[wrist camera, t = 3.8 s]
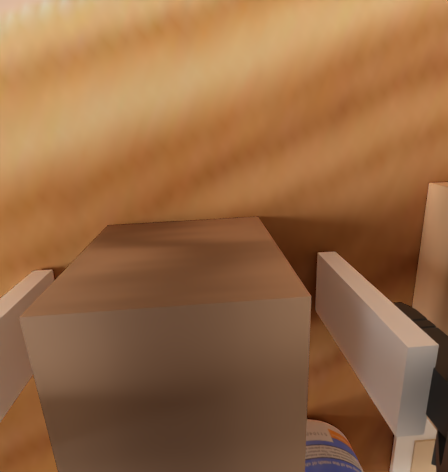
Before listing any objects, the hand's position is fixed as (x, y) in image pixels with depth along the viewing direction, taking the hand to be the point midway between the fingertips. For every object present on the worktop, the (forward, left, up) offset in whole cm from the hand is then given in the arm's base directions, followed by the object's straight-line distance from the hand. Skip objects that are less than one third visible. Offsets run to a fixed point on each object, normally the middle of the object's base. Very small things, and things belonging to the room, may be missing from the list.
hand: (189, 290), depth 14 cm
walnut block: (0, 0, 0) cm, 0 cm away
